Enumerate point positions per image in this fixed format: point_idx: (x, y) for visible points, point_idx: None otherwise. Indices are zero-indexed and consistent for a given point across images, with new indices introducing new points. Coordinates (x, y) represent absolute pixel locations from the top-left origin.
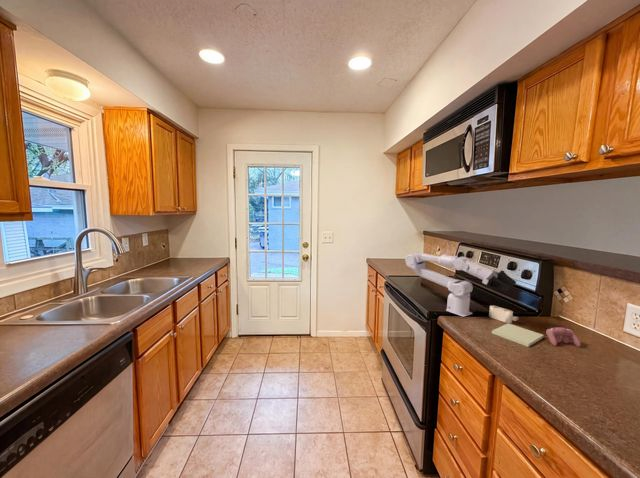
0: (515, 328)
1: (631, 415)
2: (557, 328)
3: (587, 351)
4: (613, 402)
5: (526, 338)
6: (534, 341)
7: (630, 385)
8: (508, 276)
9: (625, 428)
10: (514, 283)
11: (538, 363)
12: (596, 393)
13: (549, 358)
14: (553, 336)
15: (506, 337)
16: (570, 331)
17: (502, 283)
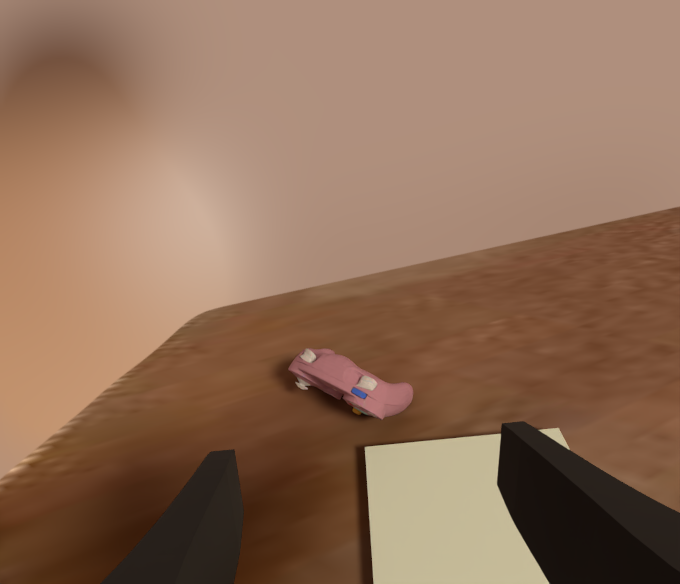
0: (429, 578)
1: (600, 226)
2: (351, 369)
3: (346, 343)
4: (592, 243)
5: None
6: (481, 439)
7: (466, 256)
8: (140, 559)
9: (660, 217)
10: (235, 482)
11: (642, 358)
12: (598, 259)
13: (552, 361)
14: (398, 384)
15: None
16: (316, 350)
17: (607, 474)
